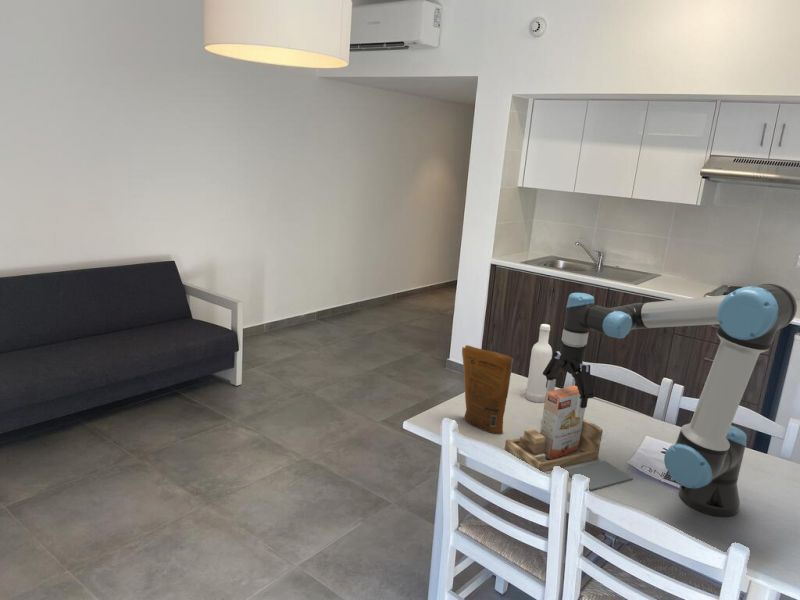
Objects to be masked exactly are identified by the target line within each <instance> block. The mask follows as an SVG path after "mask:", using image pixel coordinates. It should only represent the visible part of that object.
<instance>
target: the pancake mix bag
mask: <svg viewBox="0 0 800 600" xmlns="http://www.w3.org/2000/svg"><path fill="white" fill-rule="evenodd" d="M461 355H462V368H463V370H462V371H463V376H464V377H463V381H464V384H463V385H464V393H465V394H464V399H465V408H466V409H465V410H466V411H465V414H464V420H465V422H466V423H468V424H471V425H472V426H475V427H477V428H479V429H482V430H484V431H486V432H488V433H490V434H495V435H496V434H498V435H499V434H504V430H503V429H504V415H505V411H506V406H507V405H506V404H507V398H508V394H509V389H510V388H509V387H510V383H511V382H510V381H511V375H512V372H513V371H512V369H513V363H514V358H513V357H511V356H509V355H507V354H503V353H500V352H496V351H492V350H486V349H483V348H478V347H474V346H471V345H468V344H466V345H465V346H464V347H463V346H462V349H461Z"/></svg>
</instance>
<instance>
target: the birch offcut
mask: <svg viewBox="0 0 800 600" xmlns="http://www.w3.org/2000/svg"><path fill="white" fill-rule="evenodd" d="M519 447H520V446H519ZM520 448H522V447H520ZM522 449H523V448H522ZM523 450H525V449H523ZM525 451H526V450H525ZM526 452H527V453H529V454H530V455H532V456H533V457H534V458H536V459H537V460H539V461H540V462H544V461H546V455H545V454H544V453H543V454H539V455H536V456H534V455H533V454H531V453H530V452H528V451H526Z"/></svg>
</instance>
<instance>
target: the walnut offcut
mask: <svg viewBox="0 0 800 600" xmlns="http://www.w3.org/2000/svg"><path fill="white" fill-rule="evenodd" d="M519 438H520V441H519V446H520V447H522V448H523V449H525V450H526V451H528V452H530V453H531V454H533V455H534V456H536V455H539V454H543V453H544V451H545V445H540V446H534V445H533V444H531V443H530V442H529V441H528V440H526V439H525V438H524V435H522V436H519Z"/></svg>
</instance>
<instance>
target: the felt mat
mask: <svg viewBox="0 0 800 600" xmlns="http://www.w3.org/2000/svg"><path fill="white" fill-rule="evenodd" d="M566 470H567V471H568V472H569V476H568V477H570V478H571V479H572V476H573V475H574V474H581V475H584V476H586V477H588V478H590V482H589V490H588V491H589V492H592V491H596V490H599V489H600V490H601V489H604V488H608V487H612V486H615V485H618V484H622V483H627V482H629V481H632V480H634V478H633V476H630V475H629V474H628V473H625V472H624V471H622V470H621V469H620V468H618V467H616V466H615V465H613V464H611V463H610V462H608V461H606V460H601V461H598V462H593V463H588V464H586V465H585V464H584V465H580V466H577V467H573V468H568V469H566Z"/></svg>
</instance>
